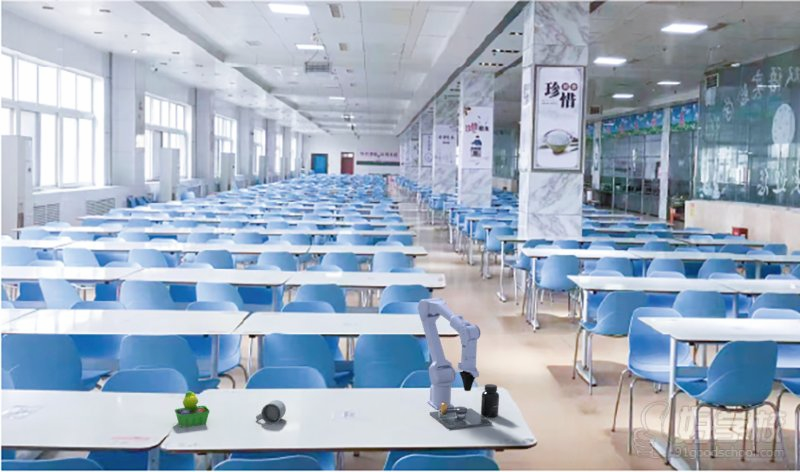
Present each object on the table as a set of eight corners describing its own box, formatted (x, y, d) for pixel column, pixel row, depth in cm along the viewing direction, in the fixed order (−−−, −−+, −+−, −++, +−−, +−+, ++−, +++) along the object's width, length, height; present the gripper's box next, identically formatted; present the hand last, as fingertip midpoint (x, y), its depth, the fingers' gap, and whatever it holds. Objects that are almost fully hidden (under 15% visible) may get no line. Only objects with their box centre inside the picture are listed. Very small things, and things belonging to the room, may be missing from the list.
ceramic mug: (286, 417, 295) (286, 398, 294) (280, 424, 287) (280, 404, 286) (259, 416, 296) (259, 396, 296) (253, 423, 288) (253, 403, 288)
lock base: (429, 414, 304) (430, 404, 304) (471, 410, 311) (471, 401, 311) (448, 429, 288) (449, 419, 287) (492, 425, 294) (492, 415, 294)
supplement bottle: (497, 419, 302) (498, 388, 301) (479, 417, 303) (481, 387, 302) (498, 413, 309) (500, 384, 307) (481, 411, 310) (482, 382, 309)
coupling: (463, 409, 302) (464, 399, 302) (468, 413, 298) (469, 403, 297) (438, 412, 299) (438, 401, 298) (443, 415, 294) (443, 405, 294)
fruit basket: (178, 428, 279) (178, 398, 278) (173, 421, 287) (173, 391, 286) (210, 425, 285) (210, 394, 284) (204, 417, 293) (204, 388, 291)
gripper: (451, 352, 307) (450, 386, 308) (467, 361, 293) (466, 396, 294) (467, 351, 309) (466, 384, 310) (484, 360, 296) (482, 395, 297)
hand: (467, 390), depth 303 cm, fingers closed
